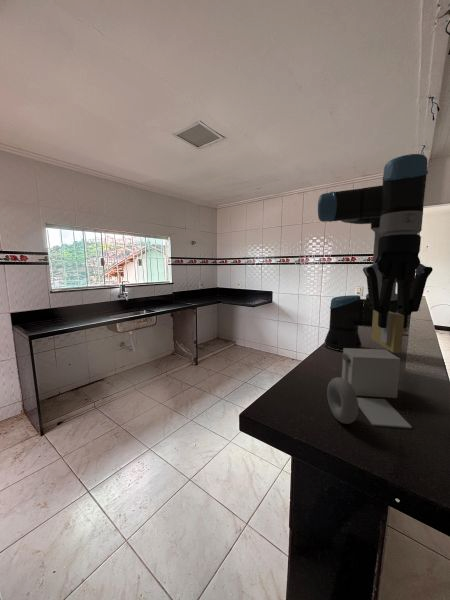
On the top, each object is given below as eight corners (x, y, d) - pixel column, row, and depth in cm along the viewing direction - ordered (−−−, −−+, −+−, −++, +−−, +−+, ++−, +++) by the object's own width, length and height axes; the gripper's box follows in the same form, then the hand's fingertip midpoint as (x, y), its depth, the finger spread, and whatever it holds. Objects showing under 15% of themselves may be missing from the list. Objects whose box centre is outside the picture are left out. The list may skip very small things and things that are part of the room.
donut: (323, 408, 64) (325, 370, 62) (336, 408, 64) (338, 370, 63) (344, 434, 54) (347, 389, 52) (360, 433, 54) (363, 389, 53)
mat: (353, 398, 68) (353, 397, 68) (384, 400, 67) (385, 399, 67) (372, 425, 57) (372, 423, 57) (411, 428, 56) (411, 426, 56)
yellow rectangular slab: (392, 352, 54) (396, 316, 53) (371, 338, 65) (373, 308, 64) (401, 353, 54) (404, 316, 53) (377, 338, 65) (380, 308, 64)
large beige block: (338, 382, 78) (340, 347, 77) (382, 384, 77) (385, 349, 75) (347, 394, 71) (349, 356, 69) (397, 398, 69) (400, 359, 68)
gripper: (370, 233, 52) (362, 345, 54) (450, 232, 50) (438, 348, 52) (356, 238, 59) (350, 336, 62) (425, 237, 57) (416, 339, 60)
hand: (390, 342), depth 57 cm, fingers closed on yellow rectangular slab, 2 cm apart
